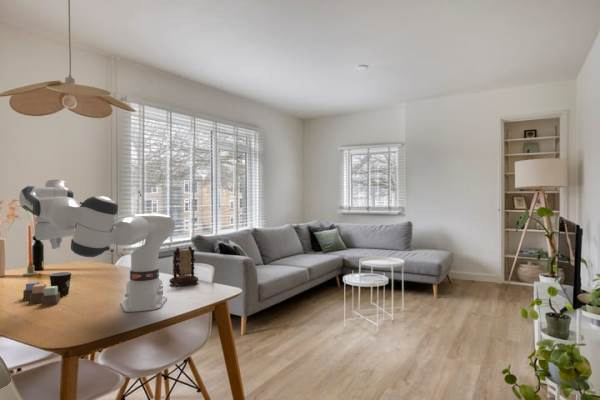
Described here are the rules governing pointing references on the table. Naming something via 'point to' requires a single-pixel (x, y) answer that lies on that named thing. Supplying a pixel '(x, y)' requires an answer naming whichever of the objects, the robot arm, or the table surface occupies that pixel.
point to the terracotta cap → (38, 288)
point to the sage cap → (50, 290)
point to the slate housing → (26, 294)
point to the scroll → (184, 267)
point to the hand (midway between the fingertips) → (56, 248)
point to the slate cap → (31, 285)
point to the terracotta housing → (36, 297)
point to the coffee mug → (61, 282)
